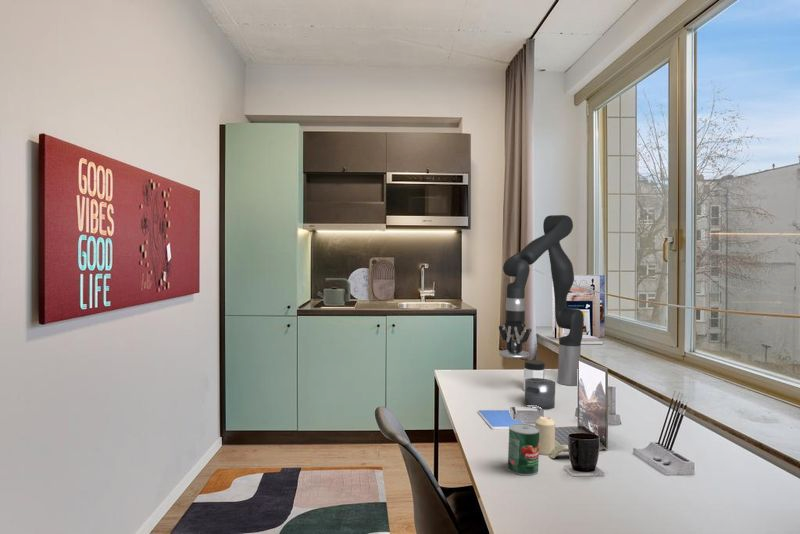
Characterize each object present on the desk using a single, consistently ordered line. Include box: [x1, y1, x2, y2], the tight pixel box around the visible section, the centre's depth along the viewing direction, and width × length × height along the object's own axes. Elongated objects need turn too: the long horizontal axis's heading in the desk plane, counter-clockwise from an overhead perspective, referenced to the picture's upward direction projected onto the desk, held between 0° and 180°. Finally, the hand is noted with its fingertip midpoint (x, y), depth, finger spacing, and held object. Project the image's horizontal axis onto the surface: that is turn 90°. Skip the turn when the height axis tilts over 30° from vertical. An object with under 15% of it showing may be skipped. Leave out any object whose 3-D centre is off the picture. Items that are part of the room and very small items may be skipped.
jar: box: [523, 359, 546, 392], centre depth 224 cm, size 9×8×12 cm
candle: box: [534, 416, 556, 456], centre depth 155 cm, size 6×6×10 cm
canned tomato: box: [507, 423, 540, 477], centre depth 142 cm, size 8×8×11 cm
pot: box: [524, 378, 556, 411], centre depth 202 cm, size 15×11×9 cm
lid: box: [498, 339, 531, 359], centre depth 215 cm, size 12×12×6 cm
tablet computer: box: [477, 409, 526, 430], centre depth 184 cm, size 19×13×1 cm, turn 6°
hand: (514, 351), depth 215 cm, fingers closed on lid, 3 cm apart
